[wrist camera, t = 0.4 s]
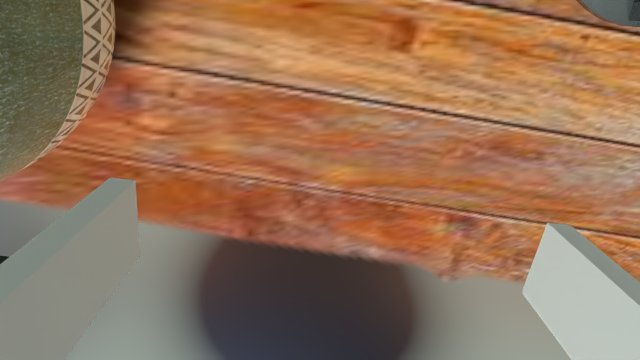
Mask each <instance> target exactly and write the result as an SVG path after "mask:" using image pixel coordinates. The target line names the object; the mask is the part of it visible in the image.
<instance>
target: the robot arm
mask: <svg viewBox="0 0 640 360" xmlns="http://www.w3.org/2000/svg"><path fill="white" fill-rule="evenodd" d="M139 257H140V249H139V232H138V215H137V198H136V182H135V180H126V179H116V178H109V179H108V180H107V181H105V182H104V183H103V184H102V185H100V186H99V187H98V188H97V189H95V190H94V191H93V192H91V193H90V194H89V195H88V196H86V197H85V198H84V199H83V200H81V201H80V202H79V203H78V204H76V205H75V206H74V207H72V208H71V209H70V210H69V211H67V212H66V213H65V214H64V215H62V216H61V217H60V218H58V220H56V221H55V222H53V223H52V224H51V225H50V226H49V227H47V228H46V229H45V230H43V231H42V232H41V233H39V234H38V235H37V236H36V237H34V238H33V239H32V240H31V241H30V242H28V243H27V244H26V245H24V246H23V247H22V248H20V249H19V250H18V251H17V252H16V253H14V254H13V255H11V256H10V257H6V256H0V360H65V358H66V357H67V356H68V354H69V353H70V352H71V350H72V349H73V348H74V346H75V345H76V343H77V342H78V341H79V339H80V338H81V337H82V335H83V334H84V333H85V331H86V330H87V328H88V327H89V326H90V324H91V323H92V322H93V320H94V319H95V317H96V316H97V315H98V313H99V312H100V311H101V309H102V308H103V307H104V305H105V304H106V302H107V301H108V300H109V298H110V297H111V295H112V294H113V293H114V291H115V290H116V289H117V287H118V286H119V285H120V283H121V282H122V281H123V279H124V278H125V276H126V275H127V274H128V272H129V271H130V270H131V268H132V267H133V265H134V264H135V263H136V261H137V260H138V259H139ZM522 293H523V295H524V296H525V297H526V298H527V300H528V301H529V303H530V304H531V305H532V307H533V308H534V309H535V311H536V312H537V314H538V315H539V316H540V318H541V319H542V320H543V322H544V323H545V324H546V326H547V327H548V328H549V330H550V331H551V333H552V334H553V335H554V337H555V338H556V339H557V341H558V342H559V343H560V345H561V346H562V347H563V349H564V350H565V351H566V353H567V354H568V356H569V357H570V358H571V359H572V360H640V283H639V282H638V281H637V280H636V279H635V278H633V277H632V276H631V275H630V274H629V273H627V272H626V271H625V270H624V269H623V268H621V267H620V266H619V265H618V264H617V263H615V262H614V261H613V260H612V259H611V258H609V257H608V256H607V255H606V254H604V253H603V252H602V251H601V250H600V249H598V248H597V247H596V246H595V245H594V244H592V243H591V242H590V241H589V240H588V239H586V238H585V237H584V236H583V235H582V234H580V233H579V232H578V231H577V230H575V229H574V228H573V227H572V226H571V225H564V224H554V223H547V226H546V228H545V231H544V234H543V236H542V239H541V242H540V244H539V247H538V250H537V253H536V255H535V258H534V261H533V263H532V266H531V269H530V271H529V274H528V277H527V280H526V282H525V285H524V288H523V290H522Z"/></svg>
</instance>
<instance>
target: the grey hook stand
mask: <svg viewBox="0 0 640 360" xmlns="http://www.w3.org/2000/svg"><path fill="white" fill-rule="evenodd" d="M577 1H578V2H579V3H580V4H581V5H582V6H583V7H584V8H585V9H586V10H587V11H589V12H590V13H592V14H593V15H595V16H597V17H598V18H600V19H603V20H605V21H607V22H610V23H614V24H618V25H622V26H632V27H640V0H577Z"/></svg>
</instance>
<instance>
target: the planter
mask: <svg viewBox="0 0 640 360" xmlns="http://www.w3.org/2000/svg"><path fill="white" fill-rule="evenodd" d="M114 42H115V9H114V0H0V182H1V181H3V180H4V179H6V178H8V177H10V176H11V175H13V174H15V173H17V172H19V171H20V170H22V169H24V168H26V167H28V166H29V165H31V164H32V163H34V162H35V161H37V160H38V159H40V158H41V157H43V156H44V155H46V154H47V153H48V152H50V151H51V150H53V149H54V148H55V147H56V146H58V145H59V144H60V143H61V142H62V141H63V140H64V139H65V138H66V137H67V136H68V135H69V134H70V133H71V132H72V131H73V130H74V129H75V128H76V127H77V126H78V125H79V124H80V122H81V121H82V120H83V119H84V117H85V116H86V115H87V113H88V112H89V110H90V109H91V107H92V106H93V104H94V102H95V101H96V99H97V97H98V95H99V94H100V92H101V90H102V88H103V85H104V83H105V81H106V78H107V75H108V72H109V69H110V65H111V60H112V56H113V49H114Z"/></svg>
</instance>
